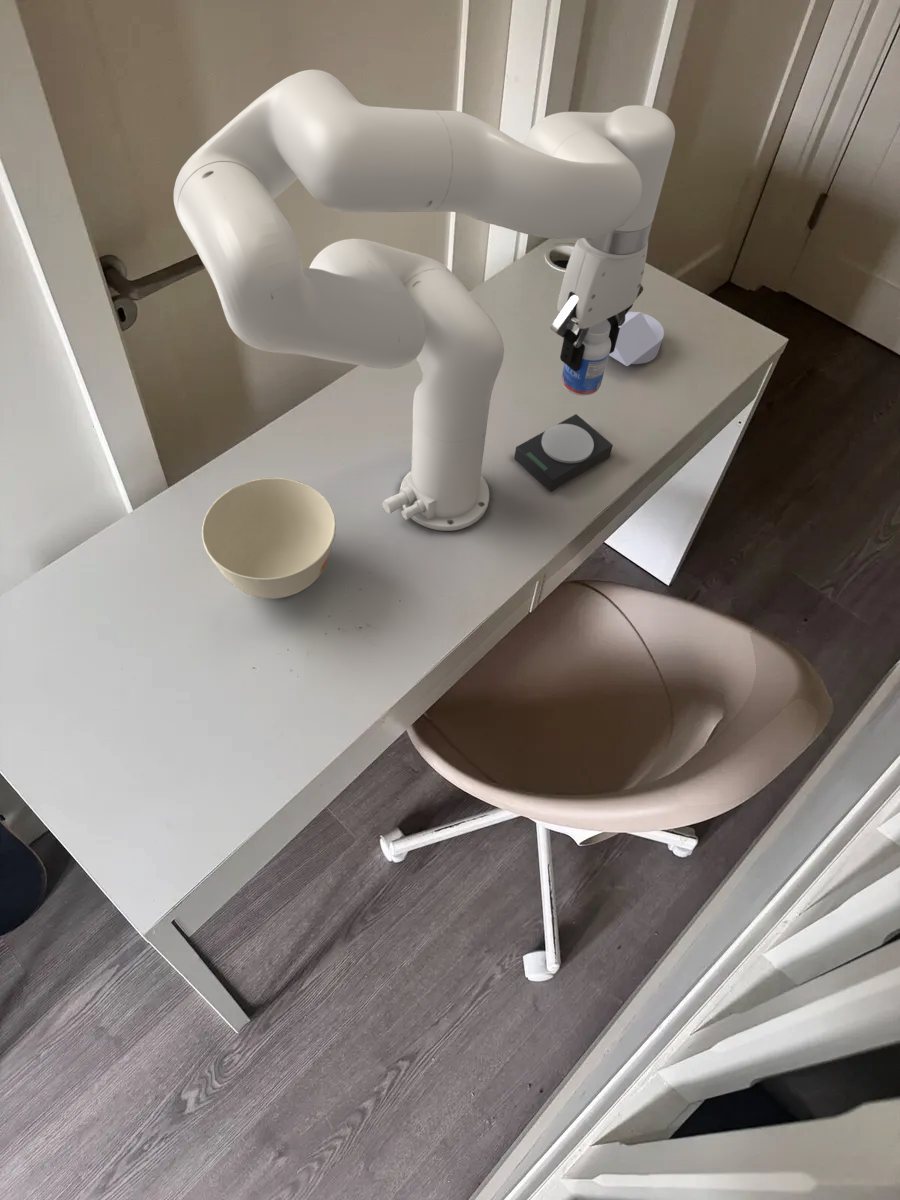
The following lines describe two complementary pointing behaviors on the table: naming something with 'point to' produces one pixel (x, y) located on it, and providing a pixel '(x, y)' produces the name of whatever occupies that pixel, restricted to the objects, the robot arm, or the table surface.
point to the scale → (563, 452)
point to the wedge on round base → (638, 339)
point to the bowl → (270, 536)
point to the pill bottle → (590, 361)
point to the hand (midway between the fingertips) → (586, 355)
